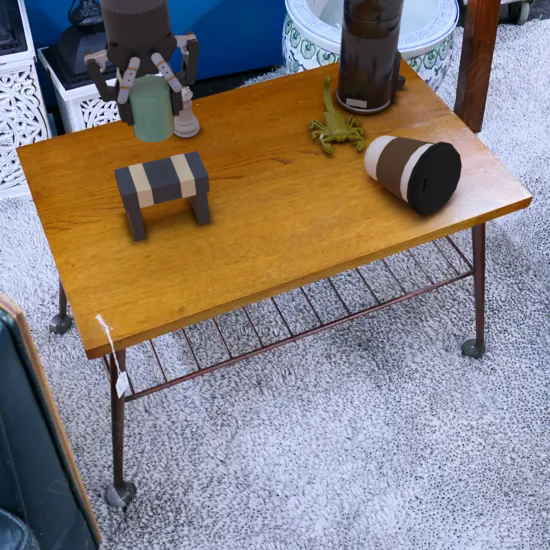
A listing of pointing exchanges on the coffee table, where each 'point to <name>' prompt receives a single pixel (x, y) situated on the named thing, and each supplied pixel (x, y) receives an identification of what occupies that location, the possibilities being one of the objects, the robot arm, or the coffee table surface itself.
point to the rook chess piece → (186, 117)
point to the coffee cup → (415, 170)
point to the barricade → (163, 187)
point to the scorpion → (335, 124)
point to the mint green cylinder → (151, 108)
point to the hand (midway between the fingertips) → (152, 116)
